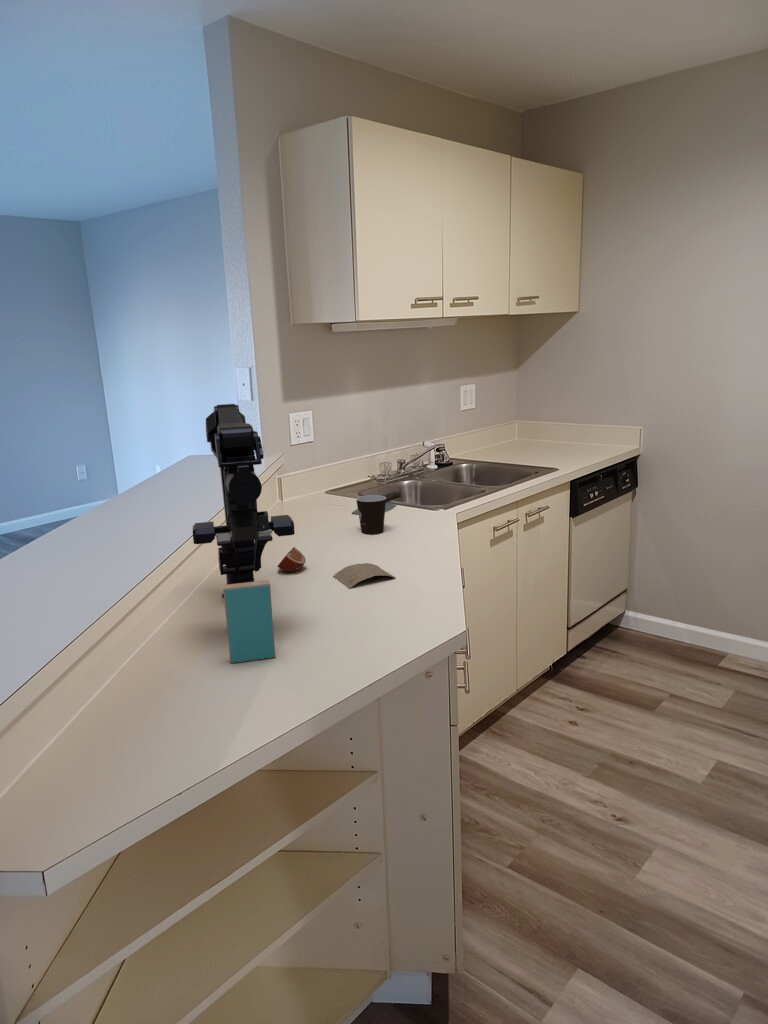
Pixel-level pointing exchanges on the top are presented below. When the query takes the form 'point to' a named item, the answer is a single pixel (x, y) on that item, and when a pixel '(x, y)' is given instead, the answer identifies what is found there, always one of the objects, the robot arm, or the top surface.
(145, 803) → the top surface
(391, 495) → the cleaver
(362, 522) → the coffee mug
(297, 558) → the fruit slice
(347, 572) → the clay tablet
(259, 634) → the tile
